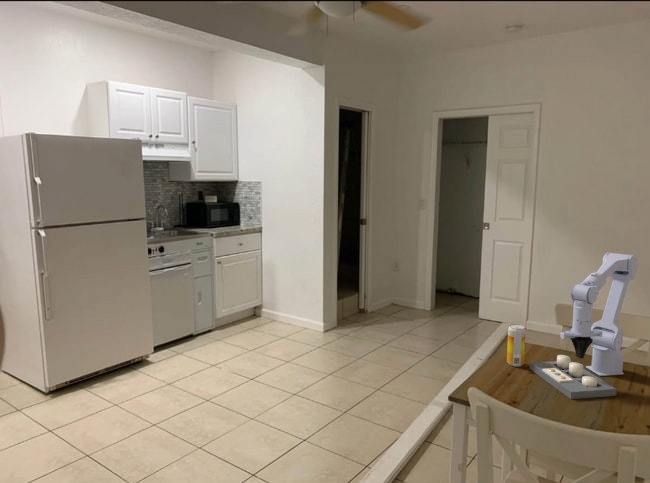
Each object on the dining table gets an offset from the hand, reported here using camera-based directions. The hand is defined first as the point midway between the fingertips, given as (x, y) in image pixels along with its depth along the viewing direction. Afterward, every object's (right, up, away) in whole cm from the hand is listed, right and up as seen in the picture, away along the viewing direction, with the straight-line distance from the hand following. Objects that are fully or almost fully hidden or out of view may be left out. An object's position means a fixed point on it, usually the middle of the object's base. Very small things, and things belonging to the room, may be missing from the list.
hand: (579, 357), depth 161 cm
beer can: (-15, -7, +18) cm, 24 cm away
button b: (0, -7, +2) cm, 7 cm away
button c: (+1, -10, -4) cm, 11 cm away
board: (-2, -9, +2) cm, 10 cm away
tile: (-7, -7, +2) cm, 10 cm away
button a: (-1, -6, +9) cm, 11 cm away
